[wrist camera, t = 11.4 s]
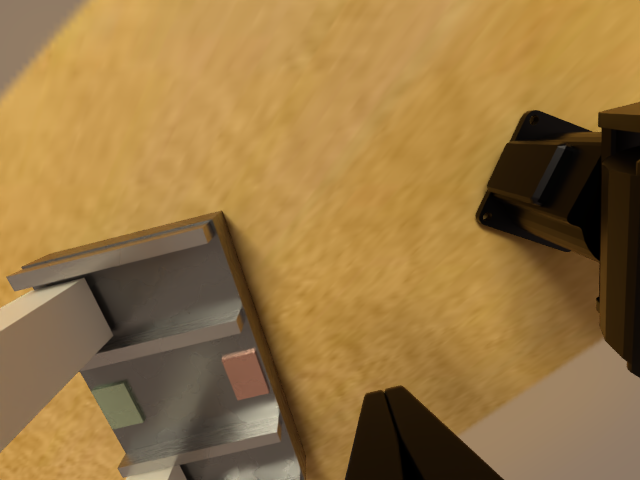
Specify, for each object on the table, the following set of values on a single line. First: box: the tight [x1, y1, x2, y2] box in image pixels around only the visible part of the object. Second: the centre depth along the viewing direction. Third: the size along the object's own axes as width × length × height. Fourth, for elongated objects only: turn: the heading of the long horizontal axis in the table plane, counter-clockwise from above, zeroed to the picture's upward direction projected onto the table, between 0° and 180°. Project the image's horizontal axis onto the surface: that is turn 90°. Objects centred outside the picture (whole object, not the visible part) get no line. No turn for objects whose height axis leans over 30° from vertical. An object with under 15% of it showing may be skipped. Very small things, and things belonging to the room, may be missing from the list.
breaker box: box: [7, 211, 306, 480], centre depth 20 cm, size 10×19×3 cm, turn 14°
